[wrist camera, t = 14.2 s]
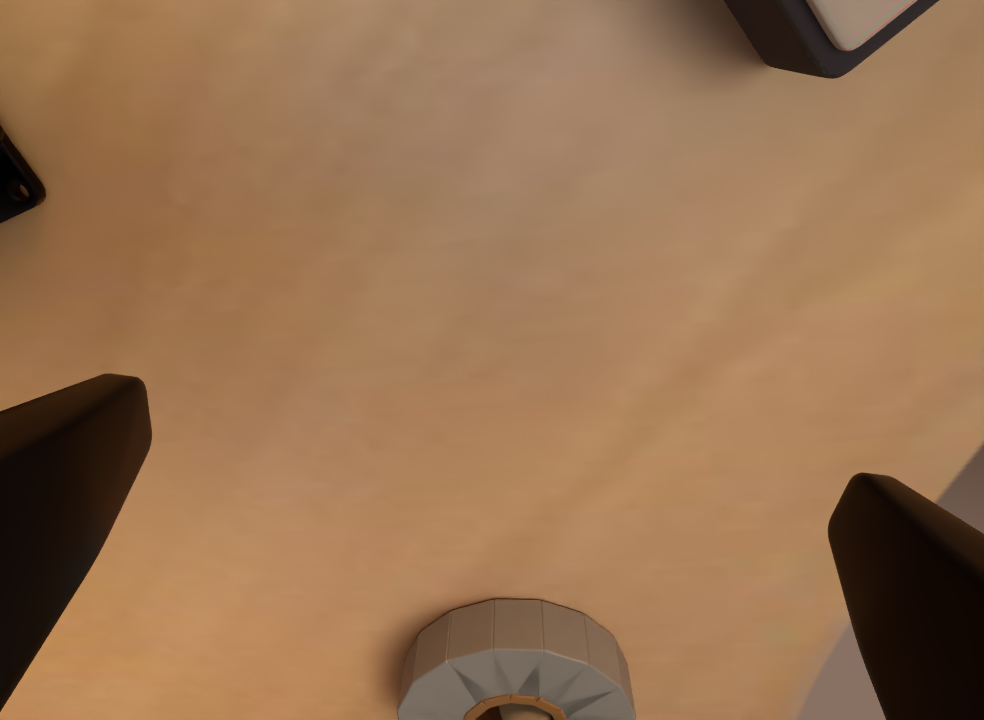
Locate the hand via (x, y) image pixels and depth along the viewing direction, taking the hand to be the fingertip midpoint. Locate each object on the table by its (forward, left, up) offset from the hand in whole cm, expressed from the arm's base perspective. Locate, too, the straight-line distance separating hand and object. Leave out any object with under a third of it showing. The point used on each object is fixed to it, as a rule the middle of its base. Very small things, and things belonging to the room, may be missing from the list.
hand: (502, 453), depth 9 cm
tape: (-8, -21, -13) cm, 26 cm away
